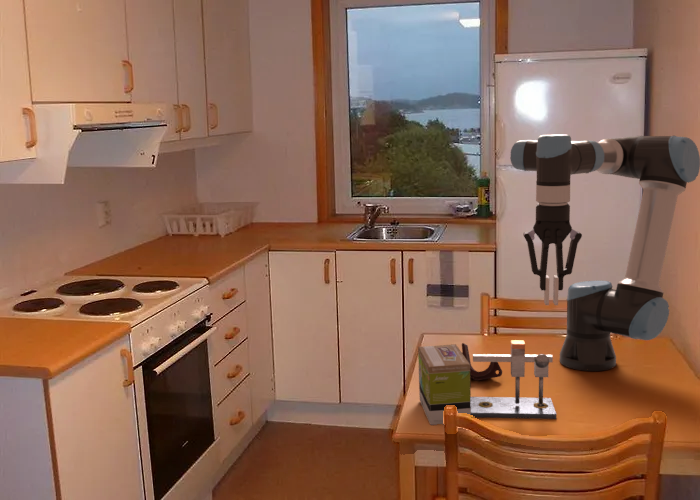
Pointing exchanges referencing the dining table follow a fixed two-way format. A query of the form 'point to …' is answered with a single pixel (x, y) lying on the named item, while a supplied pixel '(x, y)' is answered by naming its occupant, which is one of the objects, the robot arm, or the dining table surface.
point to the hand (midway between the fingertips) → (551, 303)
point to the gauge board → (512, 408)
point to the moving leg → (517, 364)
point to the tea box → (443, 381)
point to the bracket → (485, 374)
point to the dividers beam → (539, 361)
